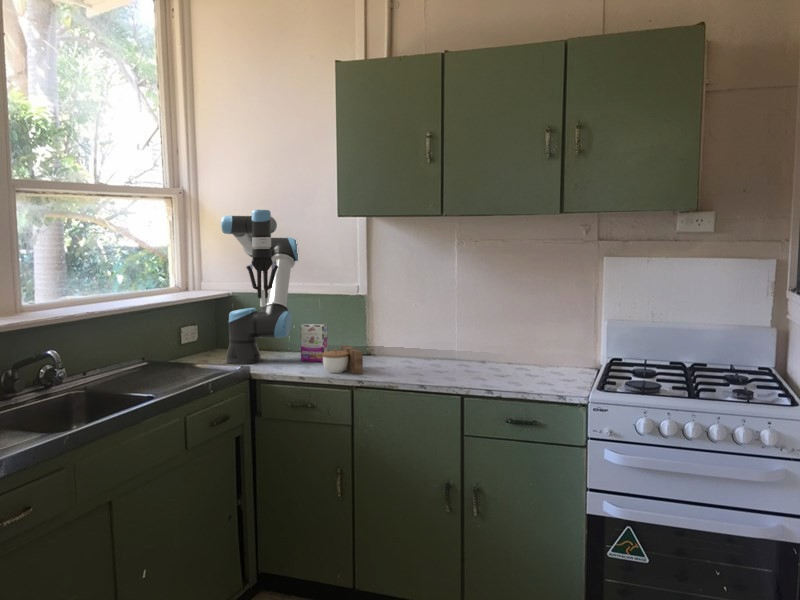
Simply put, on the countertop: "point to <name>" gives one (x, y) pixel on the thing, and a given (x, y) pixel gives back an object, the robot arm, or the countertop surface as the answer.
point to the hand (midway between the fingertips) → (262, 306)
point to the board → (354, 360)
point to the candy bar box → (313, 342)
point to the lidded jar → (335, 361)
